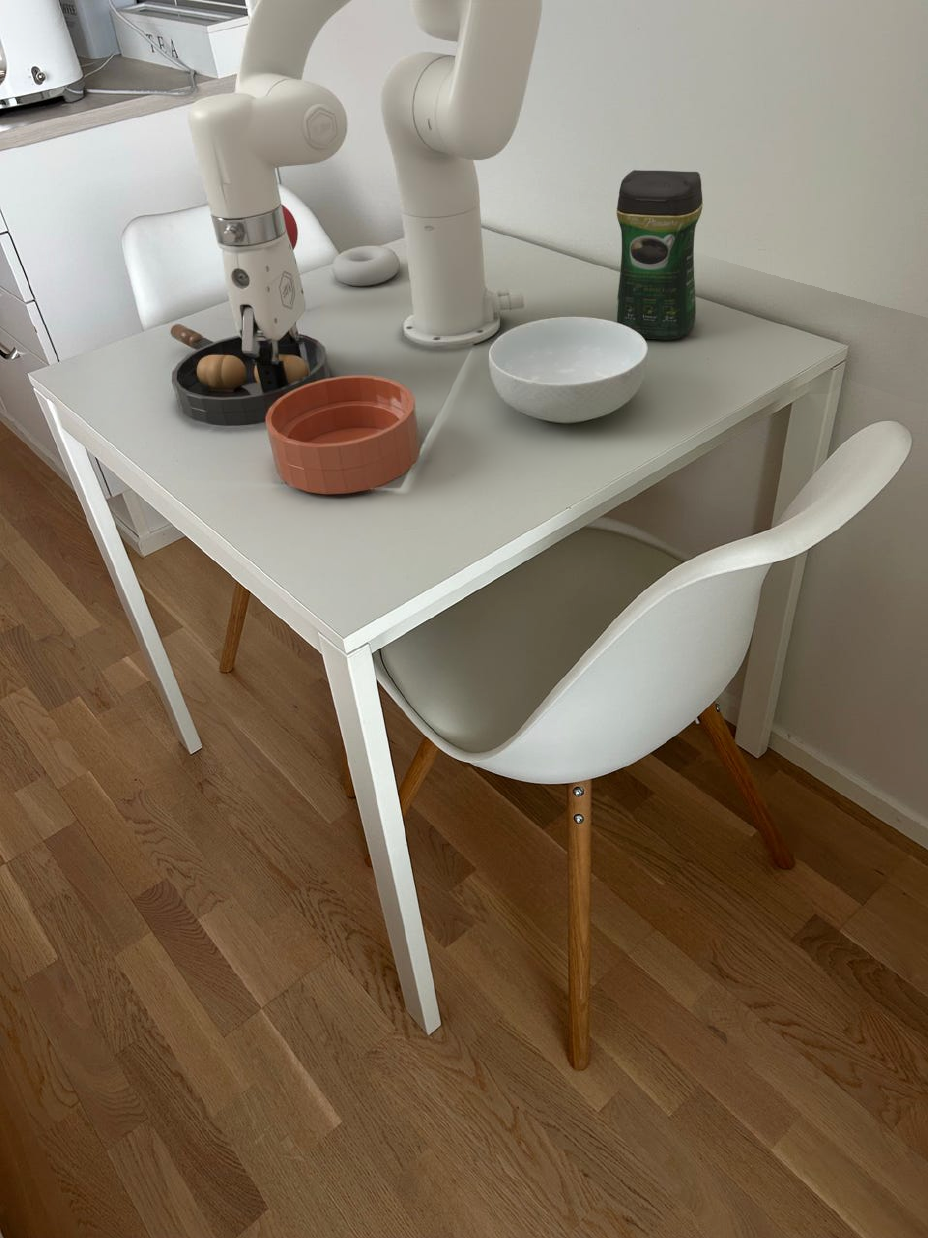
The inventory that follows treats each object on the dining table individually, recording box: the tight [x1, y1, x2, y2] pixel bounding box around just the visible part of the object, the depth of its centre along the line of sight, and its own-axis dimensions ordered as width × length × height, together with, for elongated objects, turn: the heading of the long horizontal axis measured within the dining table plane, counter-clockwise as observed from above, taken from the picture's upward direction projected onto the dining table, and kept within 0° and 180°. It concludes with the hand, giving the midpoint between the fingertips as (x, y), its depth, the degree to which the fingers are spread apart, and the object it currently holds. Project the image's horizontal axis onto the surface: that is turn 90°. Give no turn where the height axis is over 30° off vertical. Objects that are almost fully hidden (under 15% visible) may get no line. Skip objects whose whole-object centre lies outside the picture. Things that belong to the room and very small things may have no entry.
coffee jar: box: [615, 169, 704, 340], centre depth 115 cm, size 10×8×19 cm
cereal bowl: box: [488, 316, 649, 424], centre depth 105 cm, size 17×17×7 cm
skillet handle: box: [170, 323, 215, 350], centre depth 123 cm, size 10×2×2 cm, turn 42°
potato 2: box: [254, 355, 309, 386], centre depth 114 cm, size 7×4×4 cm, turn 77°
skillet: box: [171, 331, 332, 427], centre depth 115 cm, size 18×18×4 cm
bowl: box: [265, 374, 421, 495], centre depth 100 cm, size 15×15×6 cm
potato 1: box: [197, 355, 246, 392], centre depth 116 cm, size 6×4×4 cm, turn 77°
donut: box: [331, 245, 401, 287], centre depth 143 cm, size 10×4×10 cm
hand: (283, 381), depth 115 cm, fingers closed on potato 2, 4 cm apart
